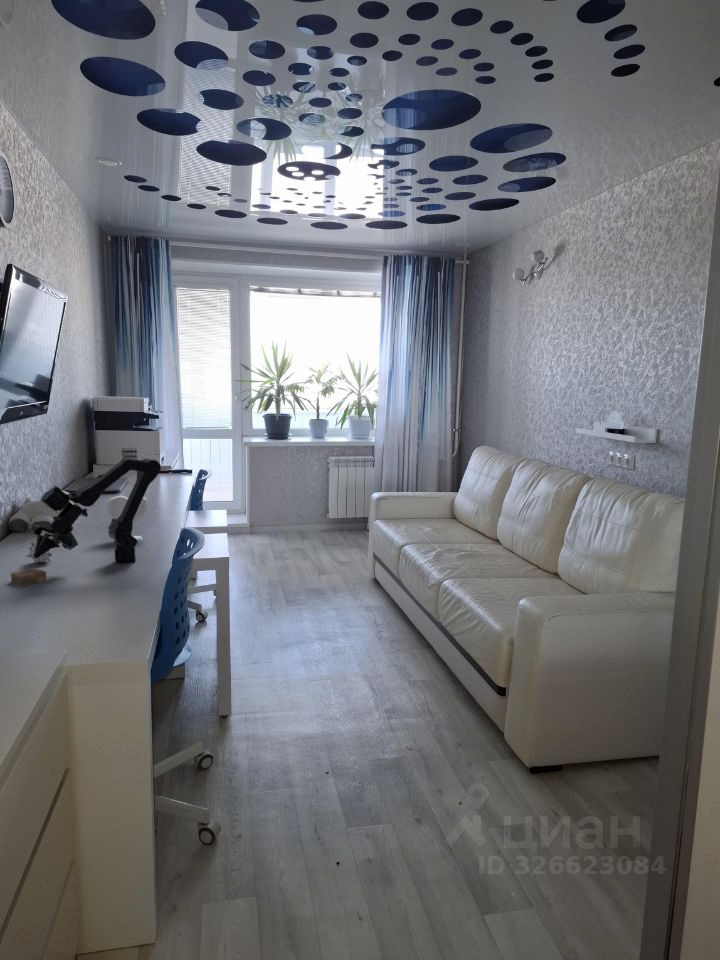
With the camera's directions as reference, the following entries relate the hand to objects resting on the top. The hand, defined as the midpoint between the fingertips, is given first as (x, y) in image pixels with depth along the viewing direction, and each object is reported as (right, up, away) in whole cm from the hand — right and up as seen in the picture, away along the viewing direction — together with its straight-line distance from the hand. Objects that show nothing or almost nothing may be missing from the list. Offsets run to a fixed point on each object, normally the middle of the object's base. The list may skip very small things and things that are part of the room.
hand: (35, 557), depth 212 cm
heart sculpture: (+11, +1, +56) cm, 57 cm away
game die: (-8, -4, +20) cm, 22 cm away
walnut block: (+1, -6, +2) cm, 6 cm away
